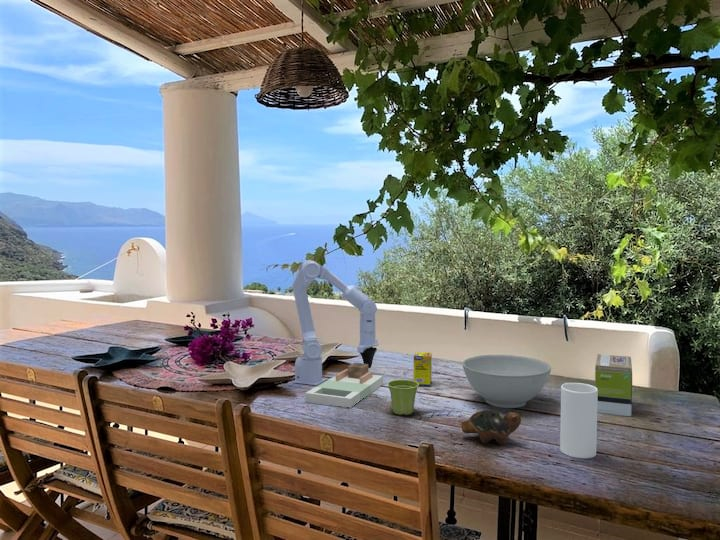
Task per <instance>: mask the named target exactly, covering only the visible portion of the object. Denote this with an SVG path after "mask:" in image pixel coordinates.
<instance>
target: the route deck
mask: <svg viewBox="0 0 720 540" xmlns="http://www.w3.org/2000/svg"><path fill="white" fill-rule="evenodd" d="M384 383H385V382H384V375H380V374H373V371H372V370H371V371H369V370H368V373H366V374H365V375H363V376H362V377H360V379H356V378H348V368H346V369H344V370H342V371H340V372H338V373H337V374H335V375H334V376H332V377H331V378H329V379H327V380H325V381H324V382H322V383H320V384H318V385H315V387H313V388H311V389H310V390H308V391H306V392H305V394H304V396H305V397H304V399H305V400H304V401H305V403H309V404H317V405H324V406H330V405H332V407H338V406H342V407H341V408H345V407H349V408H348V409H352V408H353V407H355V406H356V405H357V404H359V403H360V402H361V401H363V400H364V399H365V398H367V397H368V396H369V395H371V394H372V393H374V392H375V391H376V390H377V389H379V388H381V385H382V384H383V385H384ZM383 385H382V386H383ZM378 387H379V388H378ZM374 390H375V391H374ZM370 393H371V394H370ZM366 396H367V397H366ZM363 398H364V399H363ZM362 399H363V400H362ZM360 400H361V401H360ZM359 401H360V402H359ZM358 402H359V403H358ZM356 403H357V404H356ZM355 404H356V405H355ZM354 405H355V406H354ZM352 406H353V407H352ZM351 407H352V408H351Z"/></svg>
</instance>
